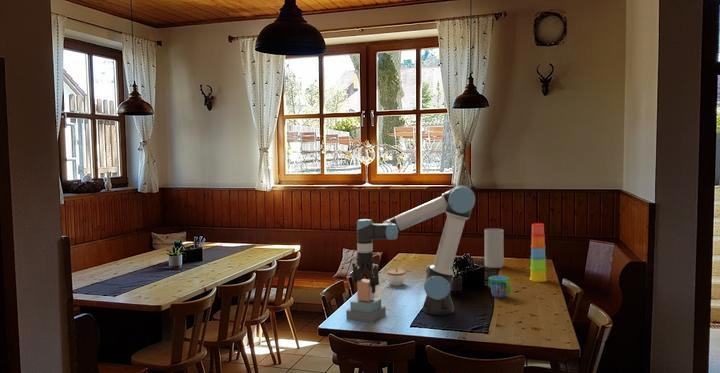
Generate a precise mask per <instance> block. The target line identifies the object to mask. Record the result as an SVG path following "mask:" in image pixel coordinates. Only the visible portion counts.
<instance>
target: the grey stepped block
mask: <svg viewBox="0 0 720 373" xmlns="http://www.w3.org/2000/svg"><path fill="white" fill-rule="evenodd" d="M349 305H350V307H349V308H348V309H346V311H345V312H346V315H345V316H346V318H345V319H347V320H353V321H359V322H366V323H371V324H372V323H374V322H376V321H377V320H379V319H380V318H382V317H384V316H385V315H386V306H385V305H382V298H378V297H374V299H373V300H370V301H362V300H358V297H357V298H355V299H354V300H351V301H350V304H349Z"/></svg>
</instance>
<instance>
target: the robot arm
mask: <svg viewBox="0 0 720 373" xmlns="http://www.w3.org/2000/svg"><path fill="white" fill-rule="evenodd" d="M475 203H476V195H475V193H474V191H473V190H472V188H471V187H470V186H468V185H464V184H459V185H455V186H454V187H453V188H451V189H449V190H447V191H445V192H443V193H442V194H441V196H439V197H437V198H434V199H432V200H430V201H428V202H425V203H423V204H421V205H418V206H416V207H414V208H412V209H410V210H407V211H405V212H402V213H400V214H398V215H396V216H393V217H391V218H387V219H385V220H383V221H382V223H374V222H373V219H371V218H370V219H368V218H361V219H358V220H357V221H356V250H357V254H356V255H357V261H355V262H352V264H351V265H352V284H355V287H356V289H355V290H356V291H357V281H359V280H362V279H363V274H364V271H365V272H366V273H367V277H368V279H369V280H370V283H371V286H370V300H373V299H374V298H375V293H376V287H377V286H378V285H380V280H379V279H380V278H379V267H380V265H379V264H375V263H374V261H373V260H374V252H373V248H374V246H373V245H374V244H373V242H374V241H373V240H389V241H390V240H397V239H398V233H399V232H401V231H403V230H406V229H408V228H410V227H413V226H414V225H417V224H419V223H421V222H424V221H426V220H427V221H428V220H429V219H431V218H434V217H436V216H438V215H441V214H443V213H445V214H446V220H445V222H444V226H443V229H442V234H441V237H440V241H439V243H438V247H437V251H436V254H435V258H434V261H433V263H432V264H428V265H426V268H425V271H426V276H425V281H424V284H423V285H424V286H423V287H424V288H423V289H424V292H425V294H426V296H425V299H424V303H423V306H422V310H423V312H424V313H425V314H429V315H434V316H444V315H446V316H447V315H451V314H453V313H454V311H455V305H454V303H453V300H452V297H451V284H452V281H453V276H454V271H453V269H452V268H453V264H454V263H455V262H454V261H455V259H456V255H457V252H458V247H459V244H460V240H461V237H462V234H463V230H464V227H465V224H466V223H465V222H466V221H467V220H469V219H470V218H471V214H472V211H473V208H474V206H475Z"/></svg>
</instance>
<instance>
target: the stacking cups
mask: <svg viewBox="0 0 720 373" xmlns="http://www.w3.org/2000/svg"><path fill="white" fill-rule="evenodd" d="M530 236H531V245H530V249H531V250H530V252H531V253H530V254H531V255H530V266H529V269H530V277H529V280H530V281H531V282H534V283H544V282H547V281H548V279H547V269H548V267H546V264H547V262H546V261H547V256H546V248H547V246H546V242H545V240H546V238H545V237H546V234H545V224H544V223H542V222H534V223H532V224H531V235H530Z"/></svg>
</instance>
